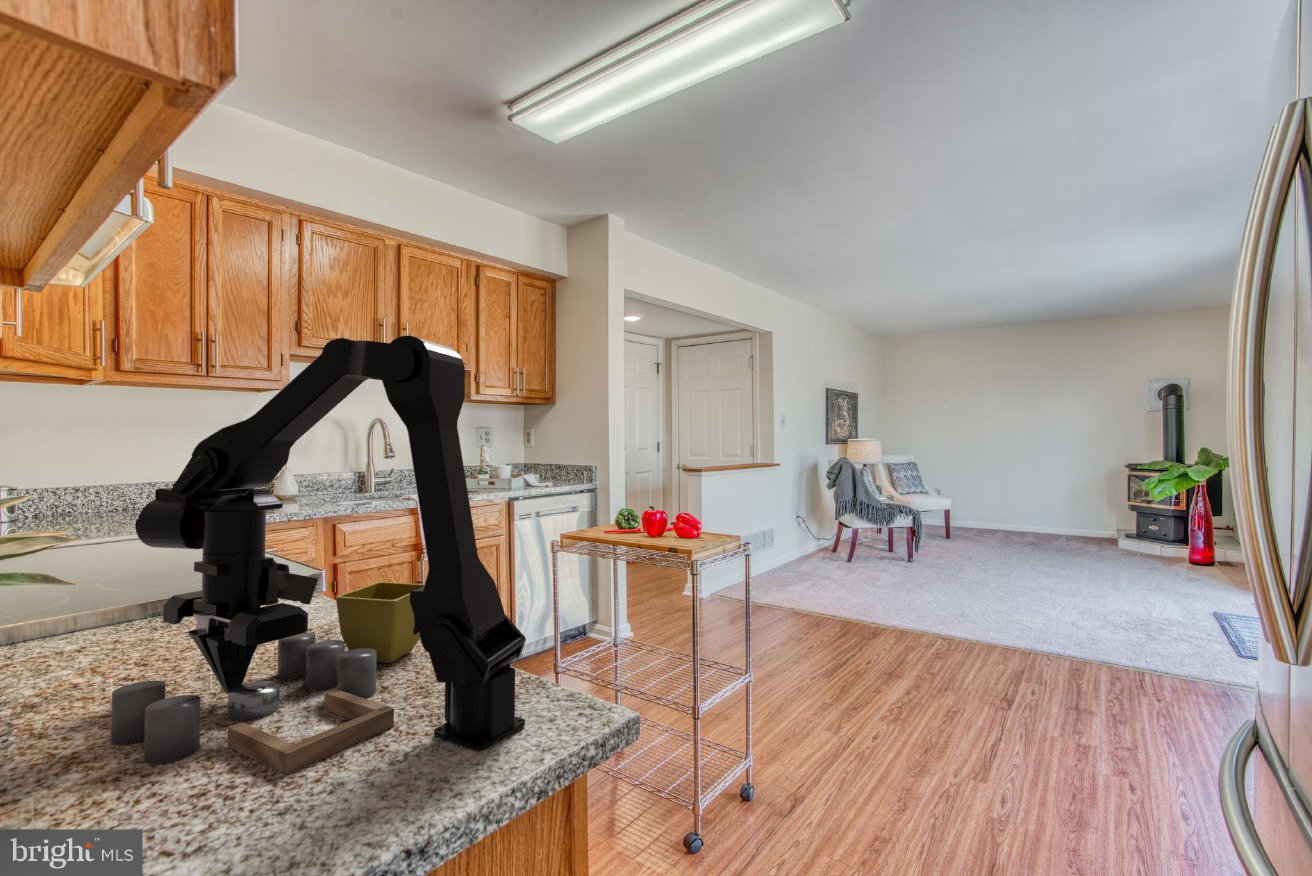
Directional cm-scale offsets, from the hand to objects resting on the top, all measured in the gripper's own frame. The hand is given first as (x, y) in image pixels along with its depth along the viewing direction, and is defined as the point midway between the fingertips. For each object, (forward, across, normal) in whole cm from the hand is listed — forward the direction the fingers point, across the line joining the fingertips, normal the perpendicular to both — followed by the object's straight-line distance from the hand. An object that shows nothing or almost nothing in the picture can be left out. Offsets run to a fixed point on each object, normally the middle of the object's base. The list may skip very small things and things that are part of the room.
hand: (232, 692), depth 67 cm
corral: (+1, -15, 0) cm, 15 cm away
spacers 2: (+1, -4, -8) cm, 9 cm away
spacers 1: (+1, -4, +9) cm, 10 cm away
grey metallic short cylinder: (+1, -4, 0) cm, 5 cm away
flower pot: (+1, -2, -18) cm, 18 cm away
